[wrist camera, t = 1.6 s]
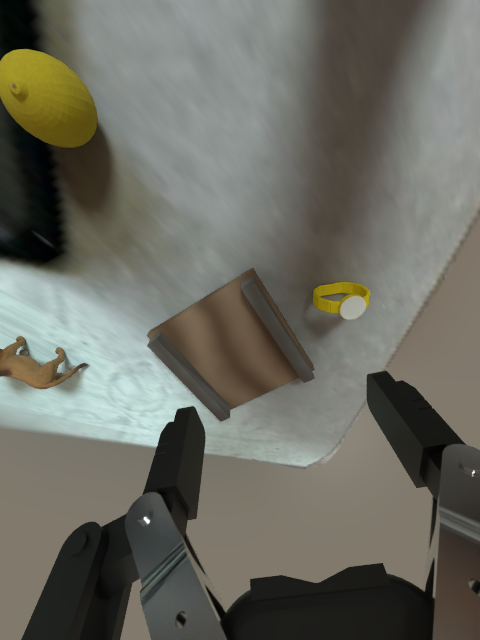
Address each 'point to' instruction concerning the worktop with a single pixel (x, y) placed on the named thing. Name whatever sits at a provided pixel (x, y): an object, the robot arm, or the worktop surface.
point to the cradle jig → (231, 346)
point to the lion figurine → (33, 367)
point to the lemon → (47, 98)
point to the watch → (343, 299)
